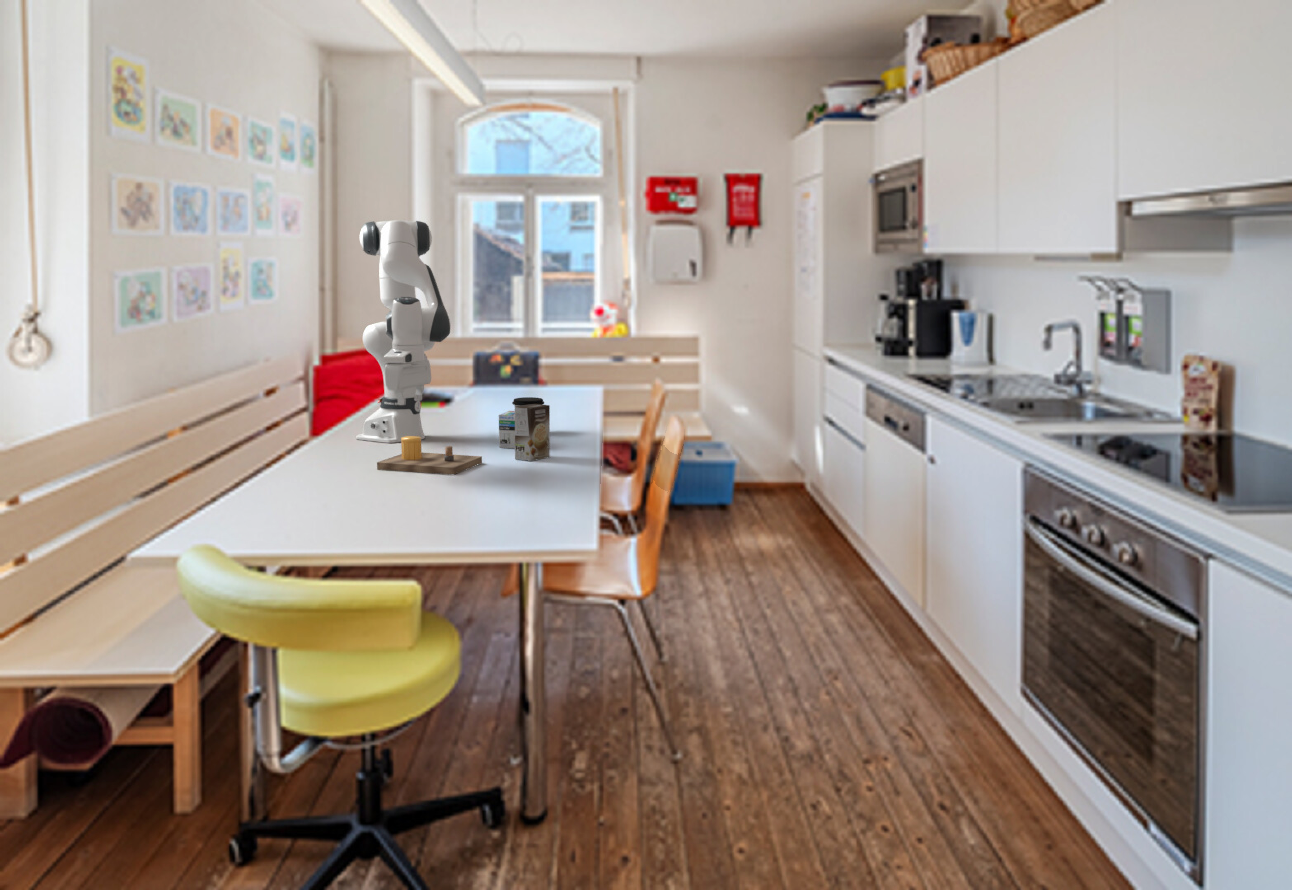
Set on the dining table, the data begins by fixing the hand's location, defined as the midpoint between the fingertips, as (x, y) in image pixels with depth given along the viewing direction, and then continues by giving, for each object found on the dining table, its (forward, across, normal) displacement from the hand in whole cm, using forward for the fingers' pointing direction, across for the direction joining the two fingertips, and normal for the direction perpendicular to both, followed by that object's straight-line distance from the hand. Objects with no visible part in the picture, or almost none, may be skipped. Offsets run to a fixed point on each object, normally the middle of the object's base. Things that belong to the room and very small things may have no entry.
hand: (410, 402), depth 294 cm
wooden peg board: (+18, 0, +6) cm, 19 cm away
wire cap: (+16, 0, 0) cm, 16 cm away
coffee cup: (+18, -63, +10) cm, 66 cm away
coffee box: (+18, -21, +29) cm, 40 cm away
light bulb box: (+18, -39, +15) cm, 46 cm away
